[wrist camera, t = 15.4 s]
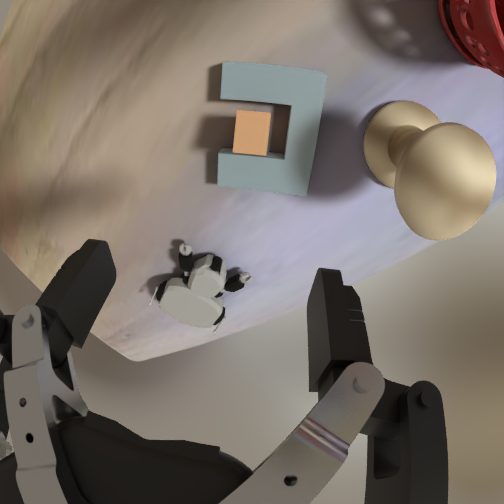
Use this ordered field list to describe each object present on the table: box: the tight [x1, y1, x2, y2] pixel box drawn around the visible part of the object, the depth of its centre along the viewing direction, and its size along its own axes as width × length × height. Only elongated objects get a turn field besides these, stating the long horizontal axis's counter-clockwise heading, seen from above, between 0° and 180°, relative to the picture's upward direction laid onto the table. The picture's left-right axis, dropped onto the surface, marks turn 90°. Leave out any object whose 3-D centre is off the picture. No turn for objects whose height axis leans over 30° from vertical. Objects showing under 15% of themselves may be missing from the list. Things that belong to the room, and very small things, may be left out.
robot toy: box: [149, 243, 252, 334], centre depth 42 cm, size 12×4×15 cm
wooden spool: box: [363, 101, 496, 240], centre depth 22 cm, size 11×11×11 cm
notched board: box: [217, 62, 328, 197], centre depth 26 cm, size 14×10×2 cm
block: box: [233, 110, 271, 156], centre depth 25 cm, size 4×3×5 cm
